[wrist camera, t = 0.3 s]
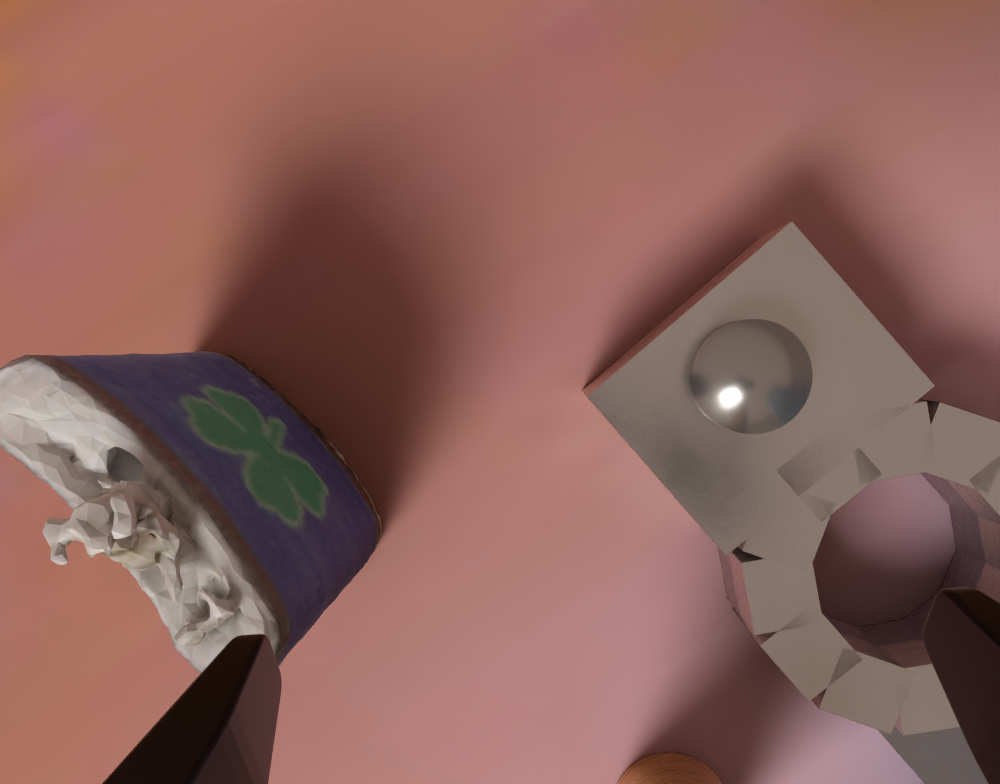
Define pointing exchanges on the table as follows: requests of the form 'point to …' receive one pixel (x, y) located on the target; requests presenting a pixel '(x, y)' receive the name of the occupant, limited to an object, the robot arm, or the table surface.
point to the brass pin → (669, 771)
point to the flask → (193, 489)
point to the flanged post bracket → (810, 474)
